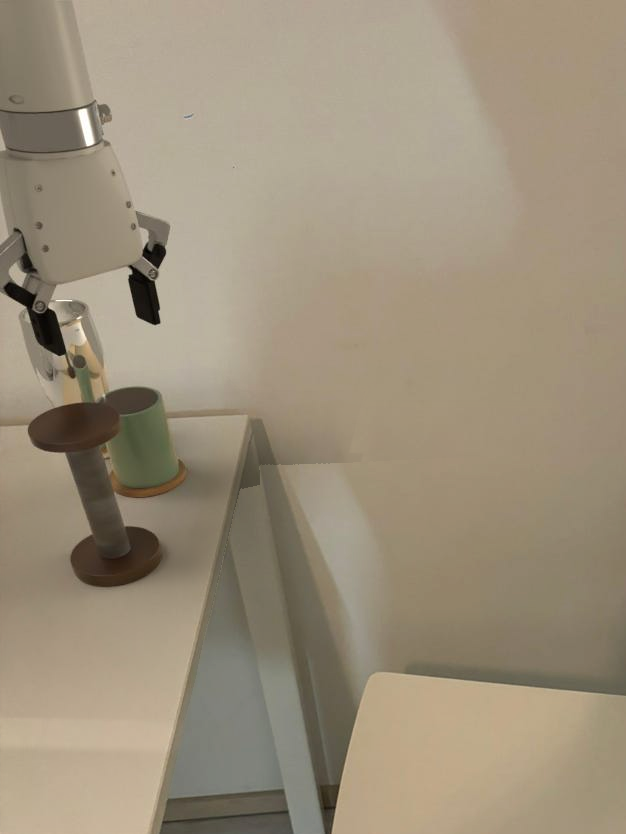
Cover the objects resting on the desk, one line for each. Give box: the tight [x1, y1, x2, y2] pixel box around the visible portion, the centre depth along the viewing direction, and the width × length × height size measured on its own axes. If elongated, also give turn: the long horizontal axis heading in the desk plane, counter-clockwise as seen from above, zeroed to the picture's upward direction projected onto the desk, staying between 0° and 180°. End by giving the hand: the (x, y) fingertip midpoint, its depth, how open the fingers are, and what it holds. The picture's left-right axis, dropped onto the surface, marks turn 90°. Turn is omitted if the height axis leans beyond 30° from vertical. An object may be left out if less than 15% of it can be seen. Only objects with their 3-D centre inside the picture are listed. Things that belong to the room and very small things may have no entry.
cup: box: [95, 385, 180, 489], centre depth 94 cm, size 6×6×8 cm
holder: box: [27, 402, 163, 587], centre depth 81 cm, size 8×8×14 cm
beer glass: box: [18, 298, 110, 460], centre depth 97 cm, size 7×7×15 cm
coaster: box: [109, 458, 187, 498], centre depth 97 cm, size 8×8×1 cm
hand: (103, 335), depth 87 cm, fingers open, 9 cm apart
